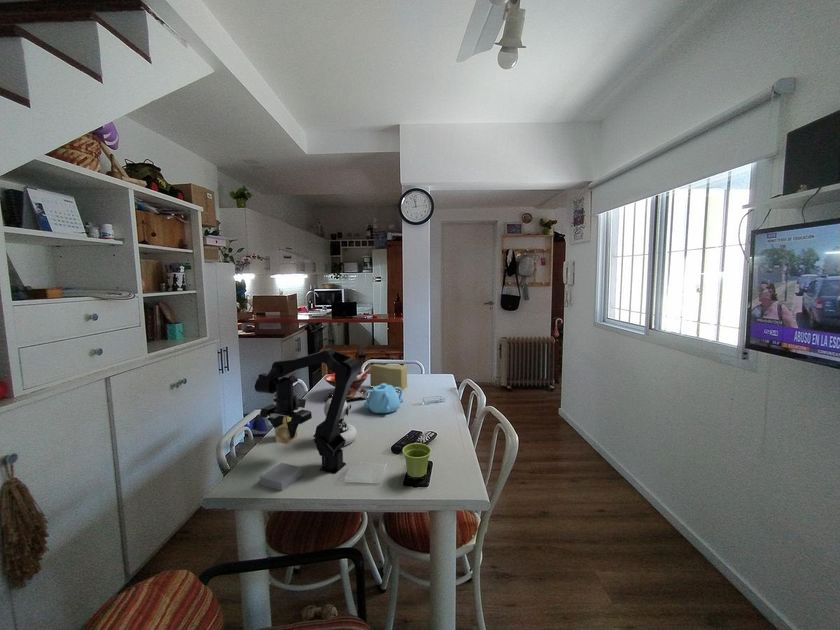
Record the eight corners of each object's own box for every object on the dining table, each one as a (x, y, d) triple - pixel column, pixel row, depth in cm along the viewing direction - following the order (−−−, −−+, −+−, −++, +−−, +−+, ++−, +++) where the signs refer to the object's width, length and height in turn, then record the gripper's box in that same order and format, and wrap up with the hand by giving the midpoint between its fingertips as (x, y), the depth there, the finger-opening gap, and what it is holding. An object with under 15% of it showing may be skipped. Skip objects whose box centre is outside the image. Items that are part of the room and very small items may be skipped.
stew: (369, 387, 201) (368, 362, 199) (378, 400, 178) (378, 371, 177) (321, 393, 191) (320, 366, 189) (325, 407, 168) (324, 377, 167)
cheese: (367, 390, 195) (366, 366, 193) (374, 385, 204) (373, 362, 203) (402, 394, 188) (401, 368, 187) (407, 388, 198) (407, 364, 196)
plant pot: (430, 466, 112) (430, 442, 112) (432, 483, 103) (432, 457, 102) (403, 467, 112) (402, 443, 111) (402, 484, 103) (402, 457, 102)
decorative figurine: (348, 450, 124) (347, 399, 122) (312, 448, 126) (310, 398, 124) (361, 433, 138) (360, 387, 137) (329, 431, 141) (327, 386, 139)
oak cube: (297, 437, 118) (296, 424, 118) (287, 444, 114) (286, 430, 113) (286, 435, 120) (286, 422, 120) (276, 441, 116) (275, 428, 115)
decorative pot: (382, 402, 175) (381, 377, 174) (406, 408, 166) (406, 382, 165) (360, 412, 162) (360, 385, 161) (385, 419, 153) (385, 391, 152)
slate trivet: (302, 474, 108) (302, 467, 108) (282, 490, 100) (281, 483, 100) (281, 469, 112) (281, 462, 111) (260, 484, 103) (259, 476, 103)
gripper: (321, 390, 120) (322, 431, 121) (281, 385, 126) (283, 424, 128) (299, 400, 109) (301, 445, 111) (257, 394, 116) (260, 436, 118)
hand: (286, 436), depth 117 cm, fingers closed on oak cube, 5 cm apart
